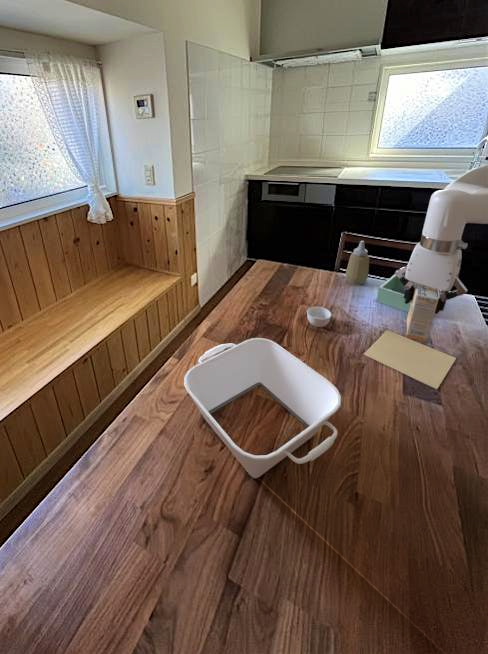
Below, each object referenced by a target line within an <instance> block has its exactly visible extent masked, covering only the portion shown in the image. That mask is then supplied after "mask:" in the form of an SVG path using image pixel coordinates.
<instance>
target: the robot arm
mask: <svg viewBox="0 0 488 654" xmlns="http://www.w3.org/2000/svg"><path fill="white" fill-rule="evenodd" d="M466 224H480V225H488V163H485V164H482V165H479V166H476V167H474V168H472V169H470V170H468V171H467V172H465V173H463V174H462V175H460V176H458V177H457V178H456V179H454V180H452V181H451V182H450V183H449V184H447V185H446V186H445V187H444V189H439V190H436V191H434V192H433V193H432V194H431V196H430V199H429V201H428V207H427V211H426V215H425V219H424V222H423V228H422V233H421V236H420V240H419V242H417V243H416V244H415V246H414V248H413V250H412V252H411V255H410V258H409V261H408V263H407V265H405V266H403V267H401V268H399V269H396V270H395V271H394V274H396V275H397V277H398V278H399V279H400V281H401V283H402V284H403V285H404V289H406V290H405V291H404V293H403V294H404V299H405V303H406V304H408V303H409V302H410V301H411V300H412V297H413V293H414V289H415V288H414V286H413V285H414V284H415V283H418V284H421V285H424V286H428V287H431V288H435V289H438V296H439V297H438V299H439V300H438V304H437V307H436V310H435V314H434V315H438V314H439V313H440V312H443V311H444V310H445V307H446V304H447V301H448V300H452V299H454V298H457V297H460V296H463V295H466V294H467V293H468V289H467V287H466V285H464V283H463V282H462V281H461V280H460V277H459V274H460V270H461V265H462V257H463V256H462V254H463V253H462V249H463V250H466V249H467V248H468V243H466V242H464V241H463V240H462V236H463V233H464V229H465V226H466ZM453 287H455V288H456V289H454V290H452V288H453Z"/></svg>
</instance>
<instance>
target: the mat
mask: <svg viewBox="0 0 488 654" xmlns="http://www.w3.org/2000/svg"><path fill="white" fill-rule="evenodd" d="M363 356H365V357H367V358H370V359H372V360H373V361H376V362H378V363H380V364H383V365H385V366H387V367H389V368H390V369H393V370H395V371H397V372H399V373H401V374H403V375H405V376H408V377H410V378H412V379H414V380H416V381H417V382H420V383H422V384H424V385H425V386H426V385H427V386H429V387H430V388H433V389H434V390H438V389H439V387H440V386H441V384H442V382H443V381H444V379H445V378H446V376H447V374H448V373H449V371H450V370H451V368H452V366H453V365H454V363H455V361H456V360H457V357H455V356H453V355H451V354H448V353H445V352H443V351H440V350H437V349H435V348H433V347H430V346H428V345H425V344H423V343H422V342H421V343H420V342H419V341H416V340H413V339H412V338H409V337H407V336H404V335H401V334H398V333H396V332H393V331H391V330H388V329H386V330H385V331H384V332H383V333H382V334H381V335H380V337H378V338H377V340H376V341H374V343H373V344H371V346H370V347H369V348H368V349H366V351H365V352H364V353H363Z"/></svg>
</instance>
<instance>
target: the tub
mask: <svg viewBox="0 0 488 654" xmlns="http://www.w3.org/2000/svg"><path fill="white" fill-rule="evenodd" d="M225 349H226V350H225ZM183 386H184V388H185V390H186V392H187V393H188V395H189V396H190V397H191V399H192V401H193V402H194V404H195V405H196V408H197V409H198V411H199V412H200V413H201V415H202V417H203V418H204V420H205V421H206V422H207V424H208V425H209V427H211V429H212V430H213V431H214V432H215V434H216V435H217V437H218V438H219V439H220V440H221V442H223V444H224V445H225V446H226V447H227V449H228V450H229V451H230V452H231V454H232V455H233V456H234V458H236V460H237V461H238V462H239V463H240V465H241V466H242V467H243V469H244V470H245V471H246V472H247V473H248V475H249V476H250V477H251V478H252V479H258V478H260V477H261V476H263V475H264V474H265V473H266V472H268V471H269V470H271V469H272V468H273V467H275V466H276V465H278V464H279V463H280V462H281V461H282V460H284V459H285V458H286V457H288V458H289V459H290V460H291V461H292V462H294V463H295V464H298V465H300V464H302V465H303V464H305V463H308V462H309V461H310V462H312V461H314V460H316V459H317V458H319V457H321V456H322V455H323V454H324V453H325V452H327V451H328V450H329V449H330V448H331V447H332V446H333V444H334V443H335V441H336V439H337V437H338V429H337V428H336V427H335V426H334V425H333V424H332V423H331V422H329V421H328V420H329V419H330V418H331V417H332V416H333V415H335V414H336V413H337V411H338V410H339V409H340V408H341V406H342V395H341V394H340V392H339V390H338V388H337V387H336V386H335V385H334V384H333V383H332V382H331V381H329V380H328V379H327V378H325V377H324V376H323V375H322V374H320V373H318V372H317V371H316V370H315V369H313V368H312V367H310V366H309V365H307V364H306V363H304V362H303V361H302V360H301V359H300V358H297V356H295V355H293V354H292V353H291V352H289V351H288V350H286V349H285V348H283V347H282V346H281V345H280V344H278V342H275V341H273V340H272V339H268V338H264V337H252V338H249V339H246V340H244V341H242V342H239V343H237V344H236V343H232V342H230V343H222V344H219V345H217V346H214V347H212V348H210V349H208V350H206V351H204V354H202V355H201V356H200V357H199V358H198V363H197V364H195V365H193V367H190V369H188V370H187V372H186V374H185V375H184V377H183ZM256 387H261V388H262V389H264V391H265V392H266V393H268V394H269V395H270V396H271V397H272V398H273V399H274V400H275V401H277V402H278V403H279V404H280V405H281V406H282V407H283V408H284V409H286V410H287V412H289V413H290V414H291V415H292V416H293V417H295V419H296V420H298V421H299V422H300V423H301V424H302V425H303V426H304V427H305V428H306V429H304V430H303V431H301V432H300V433H298V434H297V435H296V436H295V437H293V438H292V439H290V440H289V441H288V442H286V443H284V444H283V445H282V446H280V447H279V448H278V449H277V450H275V451H273V452H270V453H268V454H266V455H264V454H263V455H254V454H252V453H249V452H247V451H244V450H243V449H241V448H240V447H239V446H238V445H237V444H236V443H235V442H234V441H233V440H232V439H231V437H230V436H229V435H228V434H227V433H226V430H224V429H223V427H222V426H221V425H220V424H219V423H218V422H217V421H216V419H215V418H214V417H213V416H212V415H211V414H213V413H215V412H216V411H218V410H219V409H221V408H223V407H225V406H226V405H228V404H230V403H232V402H233V401H235V400H236V399H239V397H242V396H244V395H245V394H247V393H248V392H250V391H251V390H254V389H255V388H256ZM325 425H326V426H327V427H328V428H330V430H332V435H331V436H330V435H329V436H328V437H327V438H326V439H325V440H323V441H322V442H321V443H320V444H318V445H317V446H316V447H314V448H312V449H311V450H310V451H308V453H307V455H304V456H302V457H300V458H298V457H296V456H294V454H293V452H294V451H296V450H297V449H298V448H300V447H301V446H302V445H303V444H305V443H306V442H308V441H309V440H311V439H312V438H313V437H314V436H315V435H316V434H317V433H318V431H320V429H322V427H323V426H325Z"/></svg>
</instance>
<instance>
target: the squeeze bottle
mask: <svg viewBox="0 0 488 654" xmlns="http://www.w3.org/2000/svg"><path fill="white" fill-rule="evenodd" d="M365 247H366V246H365V241H364V240H360V241H359V244H358V246H357V247H356V248H354V249H353V252H352V253H351V254H350V256H349V259H348V263H347V268H346V271H345V277H346V280H347V282H348V283H349V284H351V285H356V286H360V285H361V286H362V285H364V284H365V283H366V281H367V279H368V278H369V272H370V270H369V269H370V256H369V255H368V250H367V248H365Z"/></svg>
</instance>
